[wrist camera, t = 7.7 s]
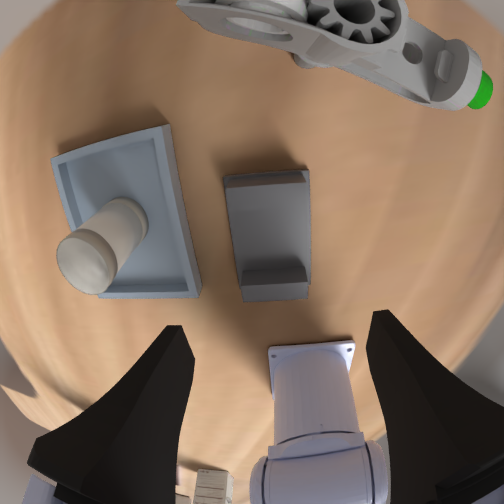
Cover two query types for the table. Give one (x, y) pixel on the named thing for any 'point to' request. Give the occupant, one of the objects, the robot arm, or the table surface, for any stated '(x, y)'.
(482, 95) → the mechanical component
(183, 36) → the table surface
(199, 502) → the supplement box
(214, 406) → the table surface
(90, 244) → the white cylindrical jar
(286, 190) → the holder
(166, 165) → the tray
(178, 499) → the stereo radio cassette player
